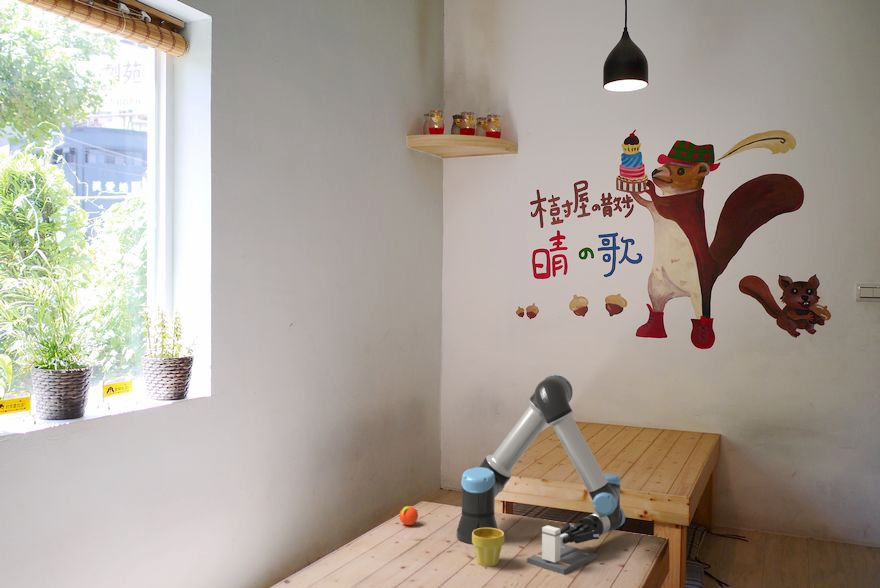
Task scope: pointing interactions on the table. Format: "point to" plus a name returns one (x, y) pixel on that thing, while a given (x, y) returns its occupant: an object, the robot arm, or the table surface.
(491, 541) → the plant pot
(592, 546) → the table surface
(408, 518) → the clementine
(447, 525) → the table surface
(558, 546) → the cap
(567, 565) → the fader board
